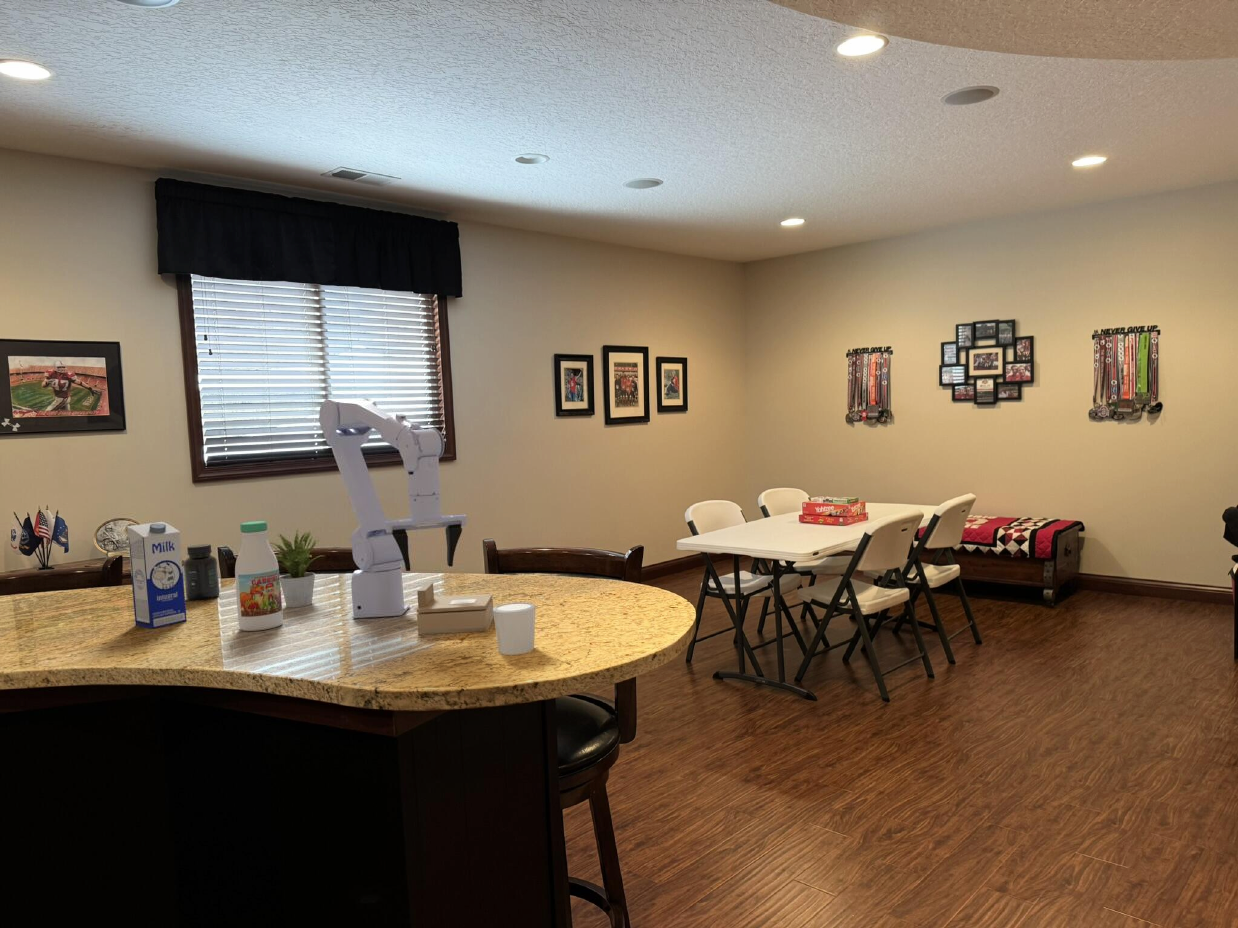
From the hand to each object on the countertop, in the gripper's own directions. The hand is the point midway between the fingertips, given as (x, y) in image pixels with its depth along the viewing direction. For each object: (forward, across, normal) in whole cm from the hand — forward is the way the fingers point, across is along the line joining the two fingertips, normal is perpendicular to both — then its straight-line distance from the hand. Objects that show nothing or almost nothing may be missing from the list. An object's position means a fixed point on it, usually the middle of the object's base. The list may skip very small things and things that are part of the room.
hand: (429, 567), depth 154 cm
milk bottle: (+11, -30, +15) cm, 35 cm away
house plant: (+11, -24, +34) cm, 43 cm away
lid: (+6, +4, -5) cm, 9 cm away
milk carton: (+11, -50, +29) cm, 59 cm away
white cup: (+10, +10, -26) cm, 30 cm away
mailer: (+10, +4, -5) cm, 12 cm away
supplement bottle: (+11, -45, +53) cm, 70 cm away
